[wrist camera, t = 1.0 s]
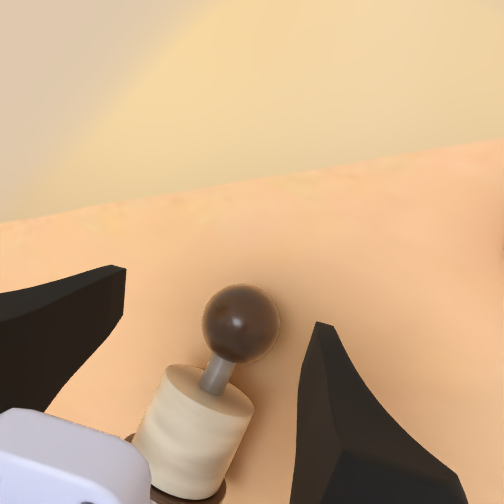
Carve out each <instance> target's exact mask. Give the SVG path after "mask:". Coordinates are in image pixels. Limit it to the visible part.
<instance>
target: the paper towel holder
mask: <svg viewBox="0 0 504 504" xmlns="http://www.w3.org/2000/svg"><path fill="white" fill-rule="evenodd" d="M279 330H280V318H279V313H278V310H277V308H276V305H275V304H274V302H273V300H272V299H271V298H270V297H269V296H268V295H267V294H266V293H265V292H263V291H262V290H260V289H258V288H256V287H254V286H250V285H245V284H237V285H232V286H228V287H226V288H224V289H222V290H220V291H219V292H217V293H216V294H215V295H214V296H213V297H212V298H211V299H210V301H209V302H208V304H207V306H206V307H205V310H204V313H203V317H202V331H203V335H204V338H205V341H206V343H207V345H208V346H209V348H210V349H211V350H212V351H213V354H212V356H211V358H210V360H209V362H208V364H207V367H206V369H205V370H202V369H199V368H196V367H192V366H187V365H171V366H169V367H167V368H166V369H165V371H164V373H163V376H162V378H161V380H160V382H159V384H158V386H157V388H156V390H155V393H154V395H153V397H152V399H151V401H150V403H149V405H148V407H147V410H146V412H145V414H144V416H143V418H142V420H141V422H140V424H139V426H138V429H137V431H136V433H133V434H131V435H129V436H128V437H127V438H125V439H124V440H125V441H127V442H129V443H131V444H133V445H135V446H136V447H137V449H138V450H139V451H140V452H141V453H142V454H143V455H144V457H145V458H146V459H147V461H148V463H149V467H150V472H151V476H152V480H151V487H150V500H152V501H154V502H156V503H157V504H222V501H223V499H224V497H225V494H226V481H225V478H224V477H225V475H226V472H227V470H228V468H229V466H230V464H231V462H232V459H233V457H234V455H235V453H236V451H237V449H238V446H239V444H240V442H241V440H242V438H243V436H244V433H245V431H246V429H247V427H248V425H249V423H250V420H251V418H252V416H253V414H254V406H253V404H252V402H251V401H250V399H249V398H248V397H247V396H246V395H245V394H244V393H243V392H241V391H240V390H239V389H238V388H236V387H235V386H234V385H232V384H231V383H229V382H228V381H229V379H230V377H231V375H232V372H233V370H234V368H235V366H236V364H244V363H250V362H254V361H256V360H258V359H260V358H262V357H263V356H264V355H266V354H267V353H268V352H269V351H270V350H271V348H272V347H273V346H274V344H275V342H276V340H277V337H278V334H279Z"/></svg>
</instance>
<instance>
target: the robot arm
mask: <svg viewBox="0 0 504 504" xmlns="http://www.w3.org/2000/svg"><path fill="white" fill-rule="evenodd" d="M125 282H126V269H125V268H121V267H118V266H114V265H108V266H103V267H100V268H96V269H93V270H90V271H87V272H83V273H80V274H77V275H74V276H70V277H67V278H64V279H61V280H57V281H53V282H49V283H46V284H42V285H38V286H34V287H30V288H26V289H21V290H16V291H11V292H5V293H0V504H157V503H156V502H154V501H152V500H150V487H151V480H152V476H151V472H150V467H149V463H148V461H147V459H146V458H145V457H144V455H143V454H142V453H141V452H140V451H139V450H138V449H137V447H136V446H135V445H133V444H131V443H129V442H127V441H125V440H123V439H122V438H120V437H118V436H115V435H112V434H108V433H105V432H102V431H99V430H96V429H93V428H90V427H86V426H83V425H80V424H77V423H74V422H71V421H68V420H64V419H61V418H58V417H55V416H52V415H49V414H46V413H44V412H45V410H46V409H47V407H48V406H49V405H50V403H51V402H52V401H53V399H54V398H55V397H56V395H57V394H58V393H59V391H60V390H61V388H62V387H63V386H64V385H65V384H66V383H67V381H68V380H69V379H70V378H71V377H72V376H73V375H74V373H75V372H76V371H77V370H78V369H79V368H80V367H81V366H82V365H83V364H84V363H85V361H86V360H87V359H88V358H89V357H90V356H91V355H92V354H93V353H94V352H95V351H96V350H97V348H98V347H99V346H100V345H101V344H102V343H103V342H104V341H105V340H106V338H107V337H108V336H109V335H110V333H111V332H112V331H113V329H114V328H115V326H116V325H117V323H118V322H119V320H120V319H121V317H122V316H123V308H124V295H125ZM290 504H468V501H467V498H466V495H465V492H464V490H463V487H462V485H461V483H460V480H459V478H458V476H457V474H456V473H454V472H453V471H452V470H451V469H449V468H448V467H447V466H446V465H444V464H443V463H442V462H440V461H439V460H438V459H437V458H435V457H434V456H433V455H432V454H430V453H429V452H428V451H427V450H425V449H424V448H423V447H422V446H421V445H420V444H419V443H418V442H417V441H415V440H414V439H413V438H412V437H411V436H410V435H409V434H408V433H407V432H406V431H405V430H404V429H403V428H402V427H401V426H400V425H399V424H398V423H397V422H396V421H395V420H394V419H393V418H392V417H391V416H390V415H389V413H388V412H387V411H386V410H385V409H384V408H383V407H382V405H381V404H380V403H379V402H378V400H377V399H376V398H375V397H374V395H373V394H372V393H371V391H370V390H369V389H368V387H367V386H366V385H365V383H364V382H363V380H362V379H361V377H360V375H359V374H358V372H357V371H356V369H355V367H354V365H353V364H352V362H351V360H350V358H349V357H348V355H347V353H346V351H345V349H344V347H343V345H342V343H341V341H340V339H339V336H338V334H337V332H336V330H335V328H334V326H331V325H328V324H324V323H320V322H317V321H316V324H315V327H314V330H313V333H312V336H311V339H310V342H309V346H308V349H307V352H306V355H305V358H304V361H303V364H302V368H301V374H300V380H299V387H298V403H297V437H296V457H295V467H294V474H293V482H292V489H291V497H290Z"/></svg>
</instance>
